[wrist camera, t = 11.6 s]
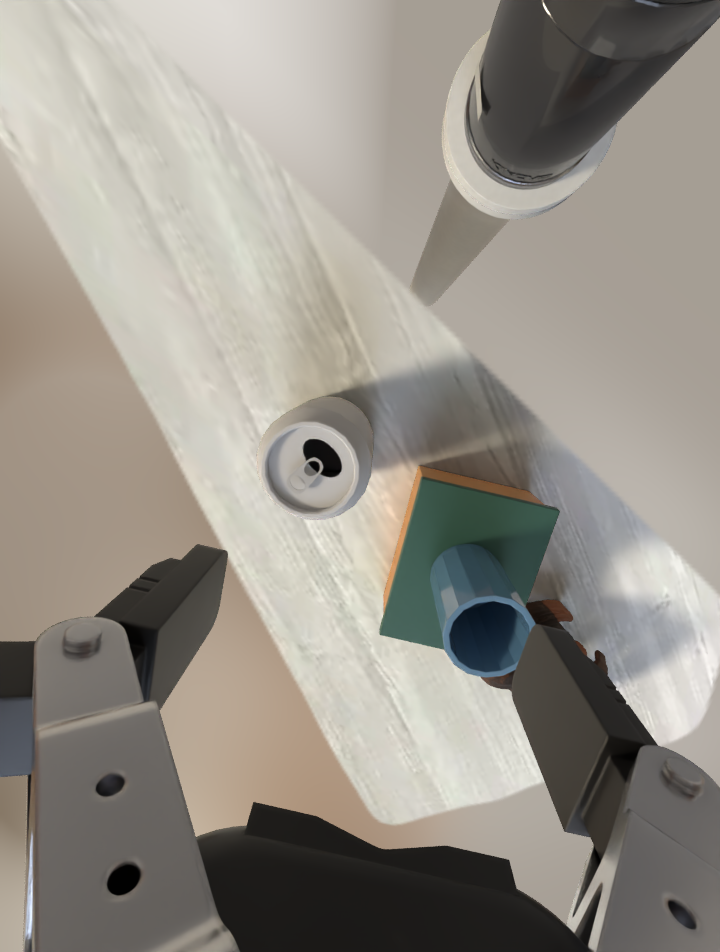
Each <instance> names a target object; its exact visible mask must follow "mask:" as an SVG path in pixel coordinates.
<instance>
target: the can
mask: <svg viewBox="0 0 720 952" xmlns="http://www.w3.org/2000/svg"><path fill="white" fill-rule="evenodd" d="M372 455H373V432H372V429H371V425H370V422H369V420H368V419H367V417H366V416H365V415H364V413H363V412H362V410H361V409H359V408H358V407H357V406H355V405H354V404H353V403H351V402H350V401H347V400H344V399H342V398H339V397H319V398H316V399H313V400H310V401H308V402H306V403H304V404H302V405H300V406H298V407H296V408H294V409H293V410H291V411H289V412H287V413H285V414H284V415H283V416H281V417H280V418H278V419H277V420H276V421H274V422H273V423H272V424H271V425H270V426H269V428H268V429H267V431H266V432H265V434H264V435H263V437H262V438H261V441H260V445H259V448H258V452H257V473H258V476H259V479H260V481H261V484H262V487H263V489H264V491H265V492H266V493H267V495H268V496H269V497H270V498H271V500H272V501H273V502H274V503H275V504H276V505H277V506H279V507H280V508H282V509H283V510H284V511H286V512H287V513H289V514H291V515H294V516H297V517H300V518H303V519H315V520H324V519H327V518H331V517H335V516H338V515H341V514H342V513H344V512H345V511H347V510H348V509H350V508H351V507H353V506H354V505H355V504H356V503H357V501H358V500H359V499H360V497H361V496H362V495H363V494H364V492H365V490H366V487H367V485H368V482H369V479H370V476H371V467H372Z"/></svg>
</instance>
